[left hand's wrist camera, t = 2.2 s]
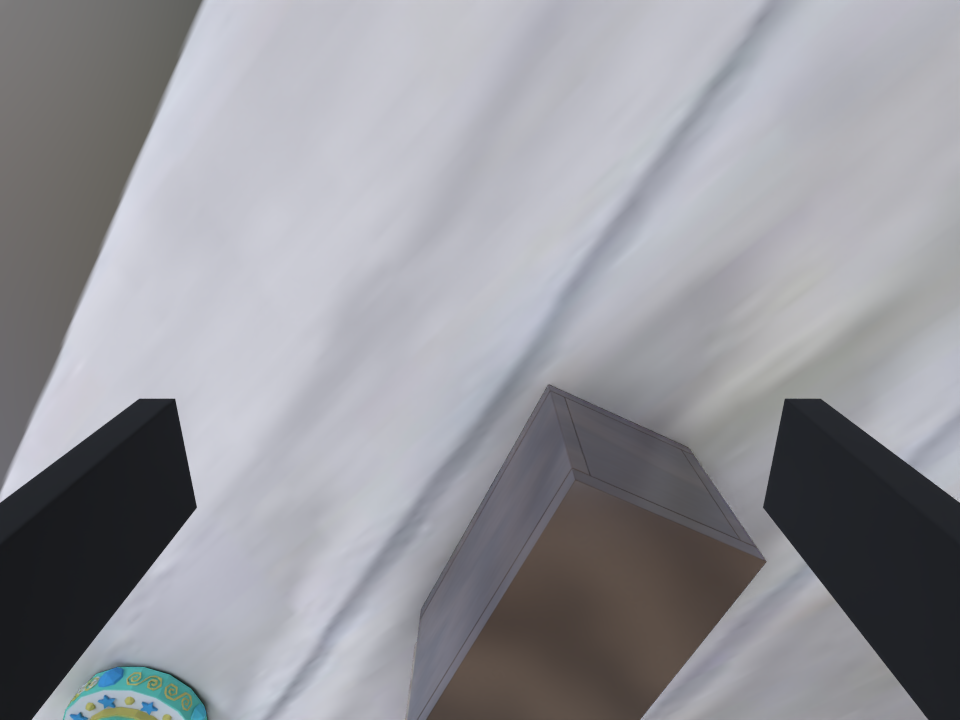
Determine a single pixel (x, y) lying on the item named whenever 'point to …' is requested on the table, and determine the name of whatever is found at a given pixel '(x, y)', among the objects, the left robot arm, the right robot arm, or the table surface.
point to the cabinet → (579, 576)
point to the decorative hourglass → (135, 697)
